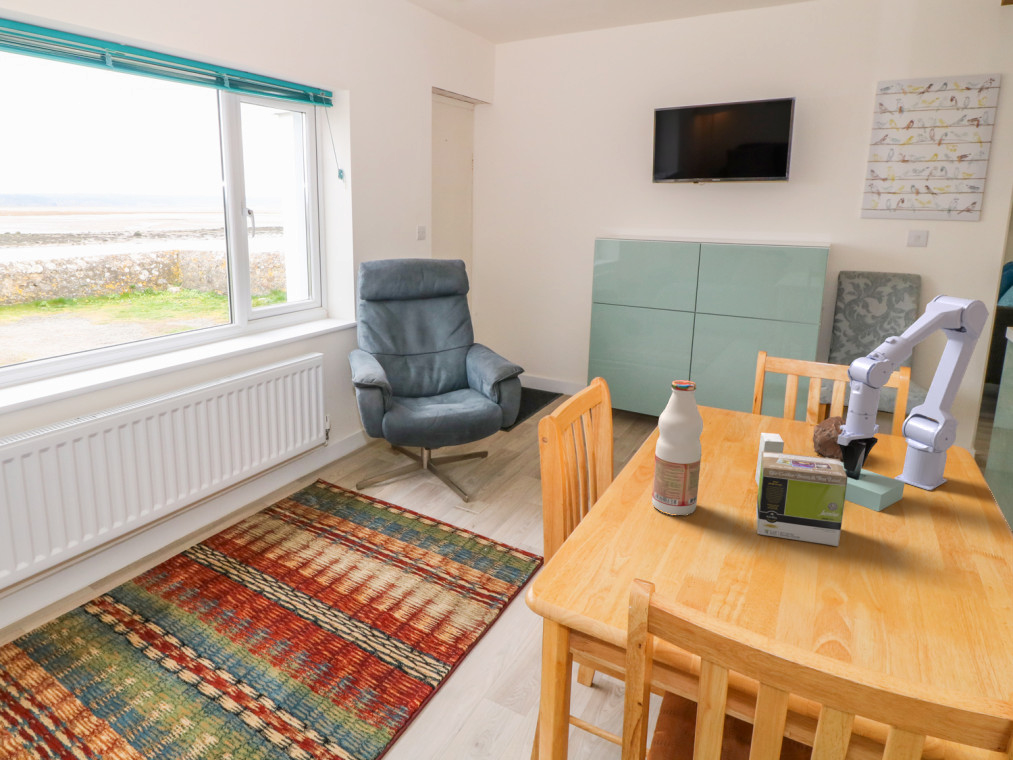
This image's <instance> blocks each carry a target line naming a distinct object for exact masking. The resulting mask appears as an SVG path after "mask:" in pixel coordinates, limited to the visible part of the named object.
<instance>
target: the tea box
mask: <svg viewBox="0 0 1013 760" xmlns="http://www.w3.org/2000/svg"><path fill="white" fill-rule="evenodd" d="M841 462H842V460H840V459H832V458H826V457H823V456H822V457H821V456H819V457H818V456H811V455H810V456H809V455H802V454H794V453H793V454H791V453H784V452H783V453H775V452H766V451H763V452H762V458H761V469H760V479H759V487H758V486H757V487H758V489H757V498H756V499H757V500H756V532H757V535H761V536H762V535H763V536H767V537H773V538H774V537H775V538H776V537H777V538H783V539H787V540H788V539H789V540H794V541H795V540H796V541H802V542H809V543H814V544H822V545H828V546H834V547H839V545H840V539H841V538H840V537H841V531H842V523H843V515H844V509H845V501H846V500H845V495H846V487H847V478H848V477H847V476H846V473H845V471H844V468H843V466H842V463H843V462H842V463H841Z"/></svg>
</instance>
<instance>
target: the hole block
mask: <svg viewBox="0 0 1013 760" xmlns="http://www.w3.org/2000/svg"><path fill="white" fill-rule="evenodd" d="M841 463H842V466H843V468H844V464H843V461H841ZM844 471H846V469H844ZM905 485H906V483H905V482H902V481H899V480H896V479H895V478H892V477H889V476H887V475H883V474H879V473H876V472H873V471H871V470H868V469H864V468H861V473H860V478H859V480H854V479H851V478H847V487H846V495H845V501H848V502H851V503H854V504H856V505H859V506H862V507H864V508H867V509H870V510H873V511H876V512H880V511H882V510H885V509H887V508H888V507H889V506H891V505H893V504H896V502H898V501H901V500H902V499H903V494H904V490H905Z"/></svg>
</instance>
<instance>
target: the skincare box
mask: <svg viewBox="0 0 1013 760" xmlns="http://www.w3.org/2000/svg"><path fill="white" fill-rule="evenodd" d="M759 439H760V440H759V448H758V455H757V463H756V469H755V470H756V471H755V476H754V477H755V482H756V484H757V487H759V479H760V469H761V458H762V452H763V451H766V452H775V453H784V445H785V442H784V440H783V439H782V437H781V435H780V433H771V432H770V433H769V432H761V433H760V438H759Z"/></svg>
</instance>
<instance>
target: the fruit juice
mask: <svg viewBox="0 0 1013 760" xmlns="http://www.w3.org/2000/svg"><path fill="white" fill-rule="evenodd" d="M696 390H697V383H696V382H694V381H691V380H687V379H677V380H673V381H672V382H671V391H672V393H671V395H670V397H669V400H668V403H667V405H666V406H665V407H664V408H665V409H663V411H662V412H661V414H660V415H659V418H658V423H657V425H658V431H659V436H658V438H657V440H656V445H655V454H654V464H653V465H654V467H653V480H652V481H653V482H652V493H651V503H653V504H652V506H653V505H654V506H655V507H656V508H657V509H659V510H662V511H663V512H667V513H670V514H676V515H685V516H688V515H687V514H689V515H691V514H693V513H694V512H695V511H696V508H697V503H698V492H699V481H700V474H701V473H700V471H701V462H702V461H701V459H702V442H701V440H700V439H701V435H702V434H703V429H704V420H703V417H702V416H701V414H700V411H699V408H698V404H697V401H696V400H697V399H696V397H695V392H696ZM690 513H691V514H690Z"/></svg>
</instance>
